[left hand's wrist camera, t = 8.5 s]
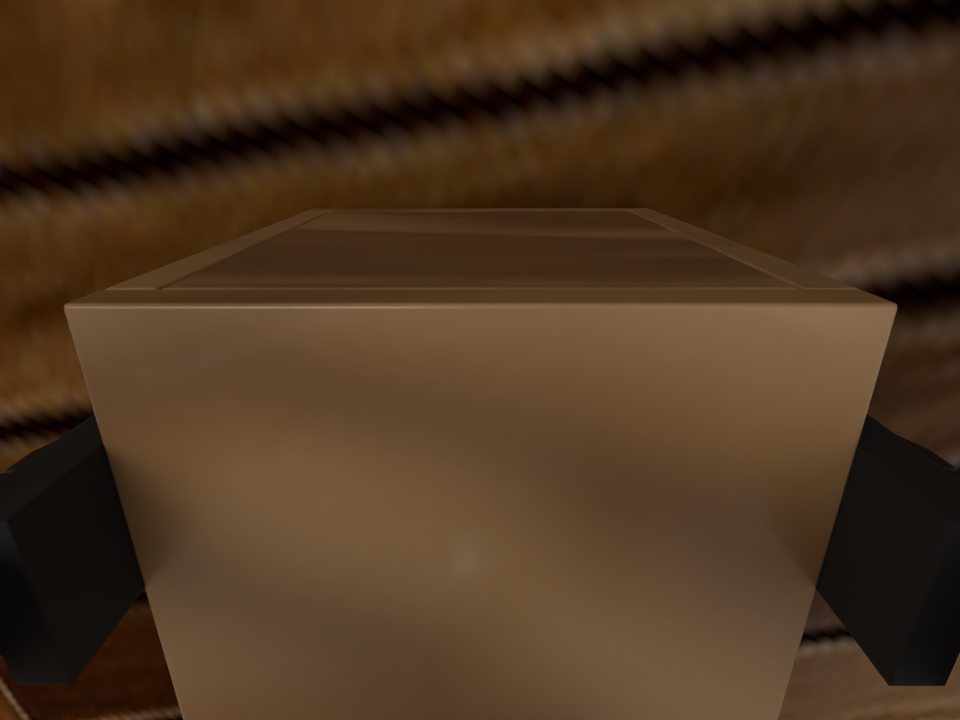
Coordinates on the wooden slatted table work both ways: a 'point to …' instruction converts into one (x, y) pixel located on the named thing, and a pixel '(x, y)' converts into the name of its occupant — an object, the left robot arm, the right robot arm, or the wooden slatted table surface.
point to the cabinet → (480, 462)
